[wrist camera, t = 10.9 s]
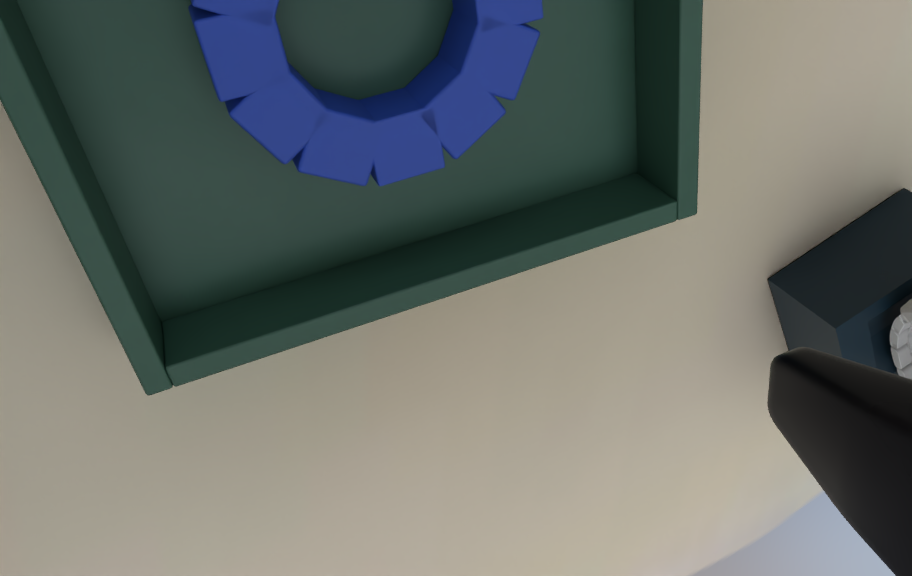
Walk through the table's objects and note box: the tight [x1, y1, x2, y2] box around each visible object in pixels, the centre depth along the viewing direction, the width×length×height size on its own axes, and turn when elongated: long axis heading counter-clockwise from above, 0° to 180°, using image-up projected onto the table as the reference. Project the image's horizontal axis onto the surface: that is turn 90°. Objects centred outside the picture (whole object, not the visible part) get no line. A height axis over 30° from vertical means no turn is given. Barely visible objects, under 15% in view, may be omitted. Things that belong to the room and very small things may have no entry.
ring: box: [188, 0, 543, 186], centre depth 16 cm, size 7×7×2 cm
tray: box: [0, 0, 703, 395], centre depth 16 cm, size 14×13×2 cm
